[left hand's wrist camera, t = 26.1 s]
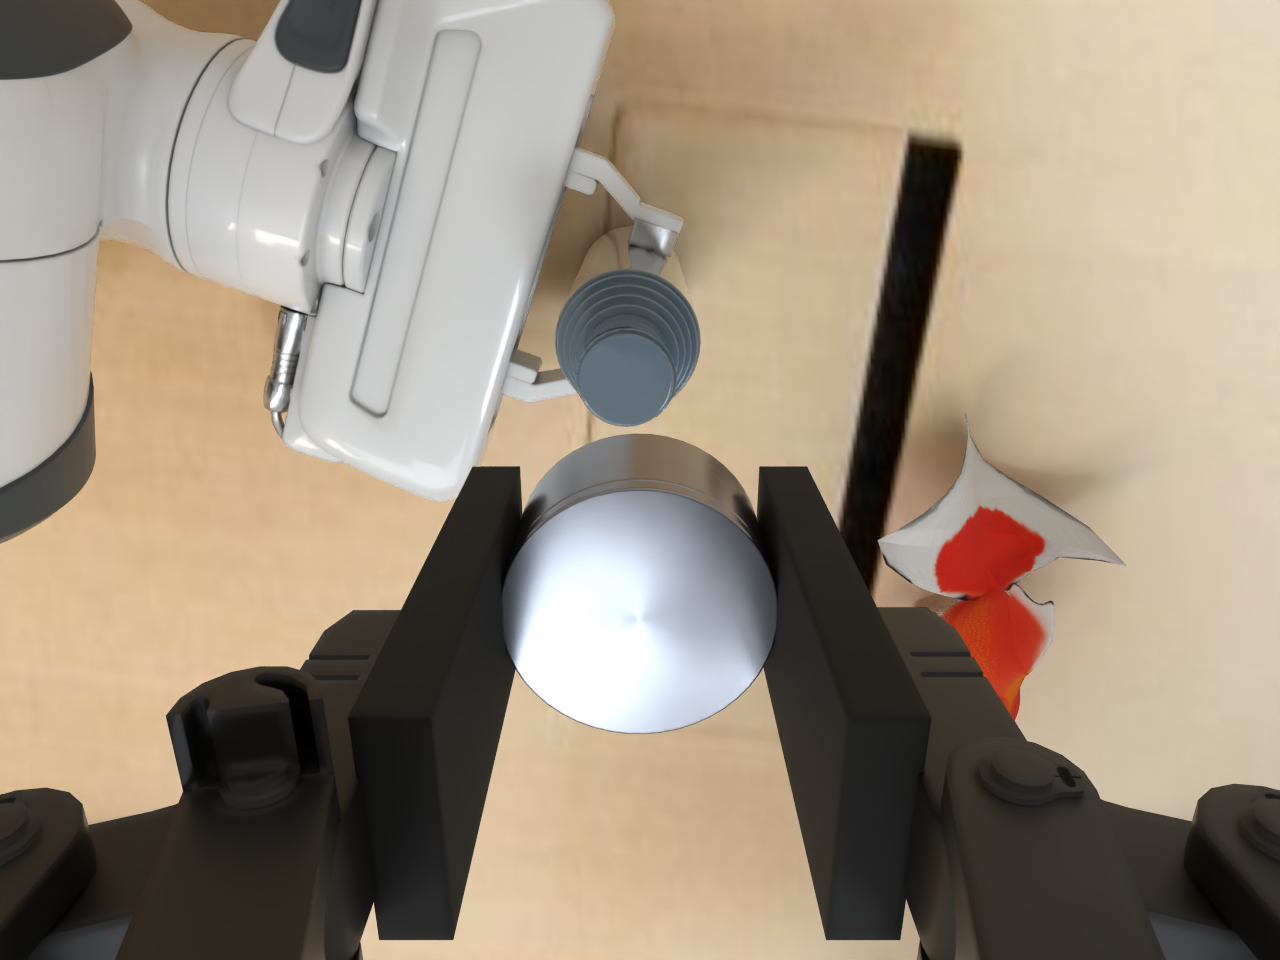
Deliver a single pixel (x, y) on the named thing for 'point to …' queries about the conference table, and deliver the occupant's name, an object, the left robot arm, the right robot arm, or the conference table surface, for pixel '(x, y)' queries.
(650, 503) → the cap
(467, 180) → the right robot arm
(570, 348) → the bottle
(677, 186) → the conference table surface
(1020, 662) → the fish
